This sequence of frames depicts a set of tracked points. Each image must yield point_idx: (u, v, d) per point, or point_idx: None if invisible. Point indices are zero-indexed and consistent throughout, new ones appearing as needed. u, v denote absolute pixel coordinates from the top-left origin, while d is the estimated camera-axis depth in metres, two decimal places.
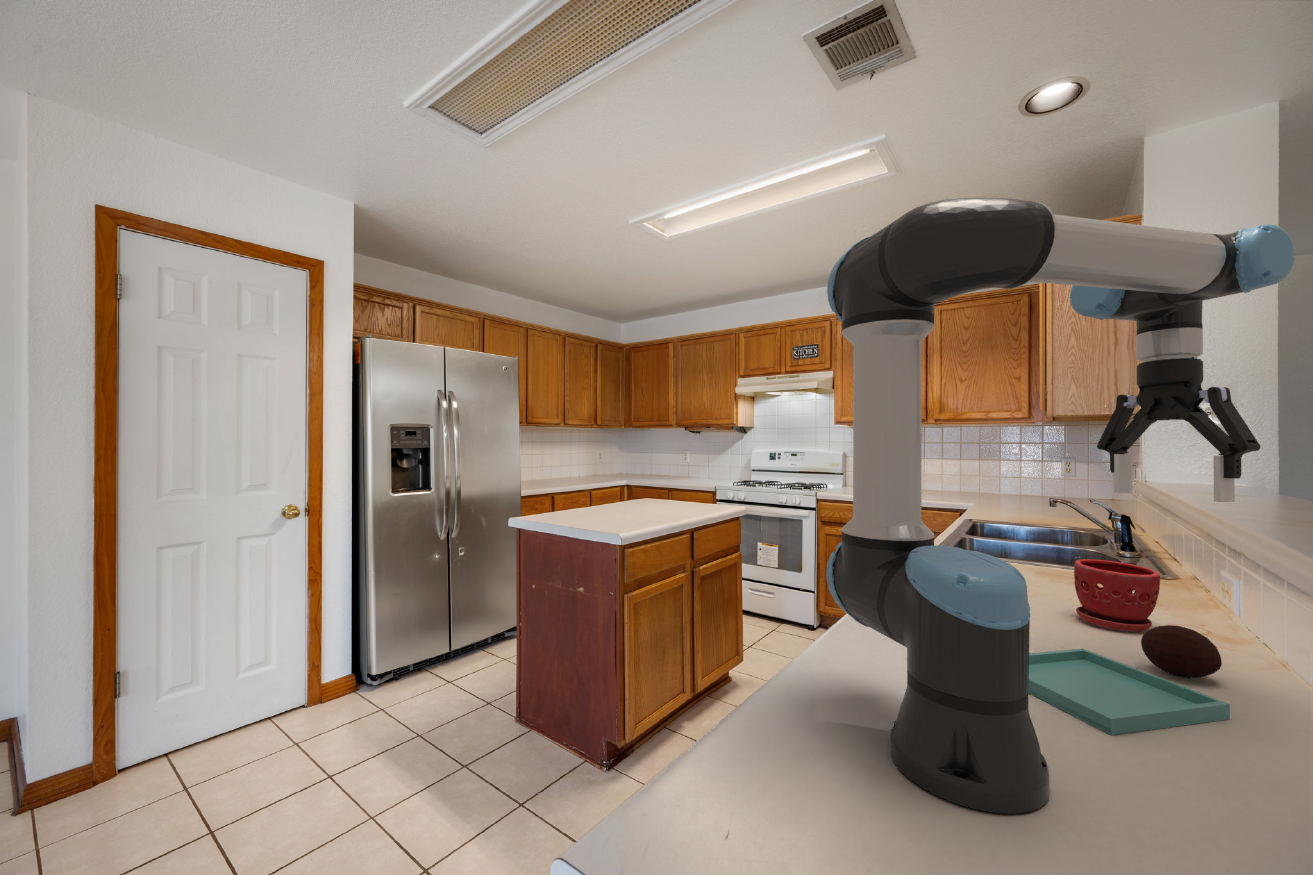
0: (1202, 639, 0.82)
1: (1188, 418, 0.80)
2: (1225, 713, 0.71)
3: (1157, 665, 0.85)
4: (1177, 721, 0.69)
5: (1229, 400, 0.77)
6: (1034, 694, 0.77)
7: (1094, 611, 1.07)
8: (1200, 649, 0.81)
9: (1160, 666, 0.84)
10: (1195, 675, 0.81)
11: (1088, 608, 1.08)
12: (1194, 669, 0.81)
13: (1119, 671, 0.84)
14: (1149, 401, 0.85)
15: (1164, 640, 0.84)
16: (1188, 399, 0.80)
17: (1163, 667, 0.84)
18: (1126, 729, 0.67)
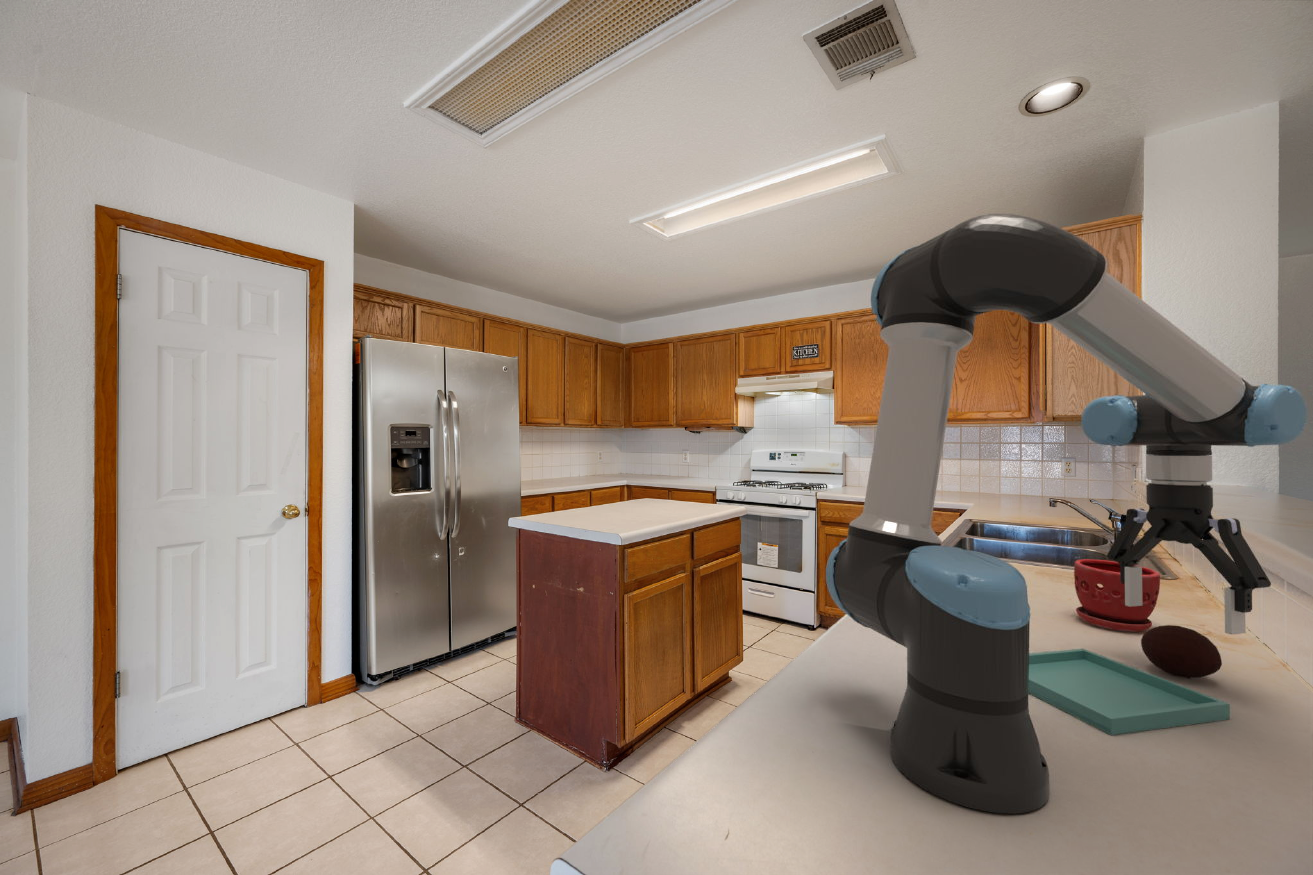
0: (1202, 639, 0.82)
1: (1198, 546, 0.81)
2: (1225, 713, 0.71)
3: (1157, 665, 0.85)
4: (1177, 721, 0.69)
5: (1239, 532, 0.78)
6: (1034, 694, 0.77)
7: (1094, 611, 1.07)
8: (1200, 649, 0.81)
9: (1160, 666, 0.84)
10: (1195, 675, 0.81)
11: (1088, 608, 1.08)
12: (1194, 669, 0.81)
13: (1119, 671, 0.84)
14: (1159, 522, 0.86)
15: (1164, 640, 0.84)
16: (1198, 526, 0.81)
17: (1163, 667, 0.84)
18: (1126, 729, 0.67)
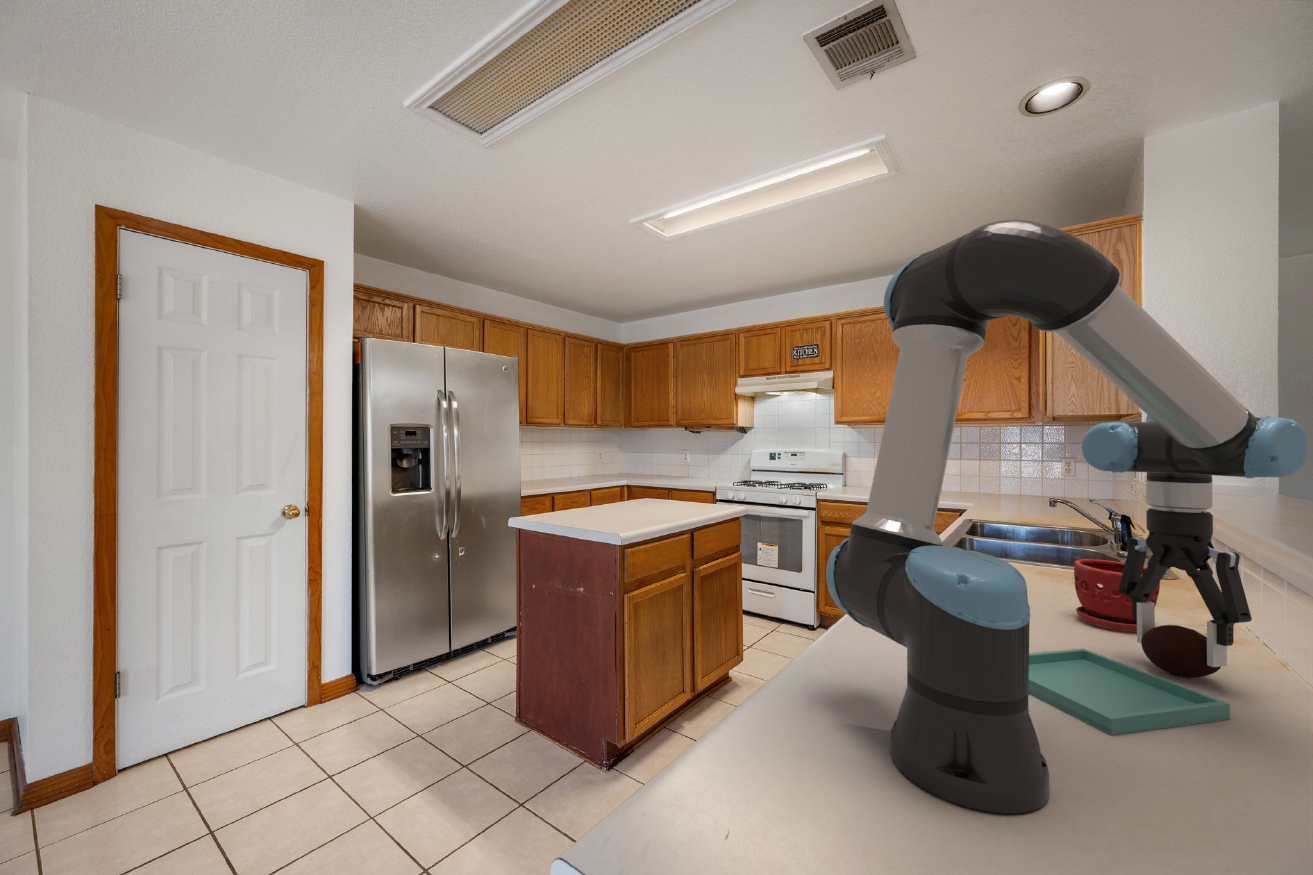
0: (1202, 639, 0.82)
1: (1192, 575, 0.82)
2: (1225, 713, 0.71)
3: (1157, 665, 0.85)
4: (1177, 721, 0.69)
5: (1236, 567, 0.78)
6: (1034, 694, 0.77)
7: (1094, 611, 1.07)
8: (1200, 649, 0.81)
9: (1160, 666, 0.84)
10: (1195, 675, 0.81)
11: (1088, 608, 1.08)
12: (1194, 669, 0.81)
13: (1119, 671, 0.84)
14: (1159, 548, 0.86)
15: (1164, 640, 0.84)
16: (1197, 554, 0.81)
17: (1163, 667, 0.84)
18: (1126, 729, 0.67)
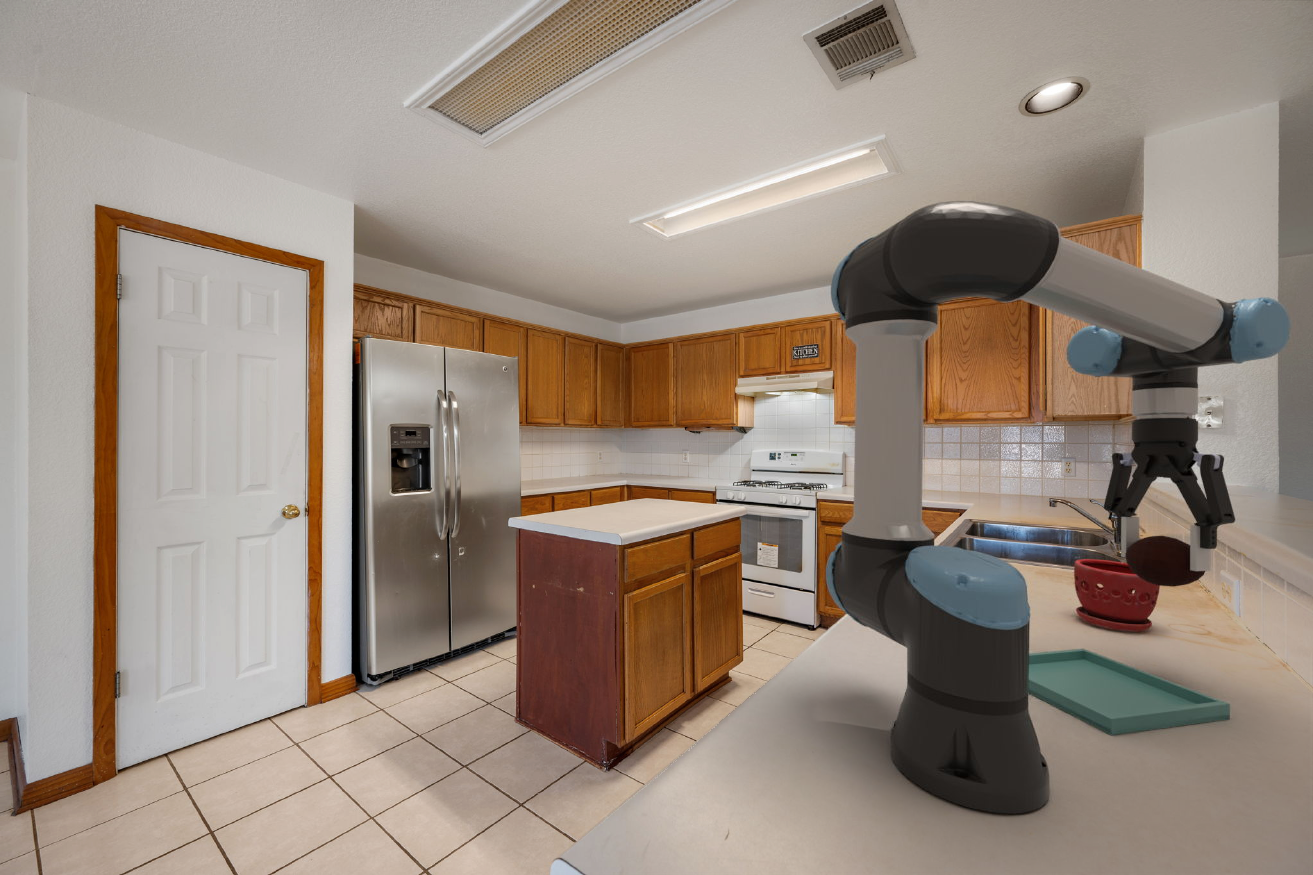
0: (1186, 546, 0.81)
1: (1177, 481, 0.81)
2: (1225, 713, 0.71)
3: (1141, 575, 0.84)
4: (1177, 721, 0.69)
5: (1220, 469, 0.77)
6: (1034, 694, 0.77)
7: (1094, 611, 1.07)
8: (1183, 555, 0.80)
9: (1144, 575, 0.83)
10: (1179, 582, 0.80)
11: (1088, 608, 1.08)
12: (1177, 575, 0.80)
13: (1119, 671, 0.84)
14: (1144, 458, 0.85)
15: (1148, 549, 0.83)
16: (1181, 459, 0.80)
17: (1147, 576, 0.83)
18: (1126, 729, 0.67)
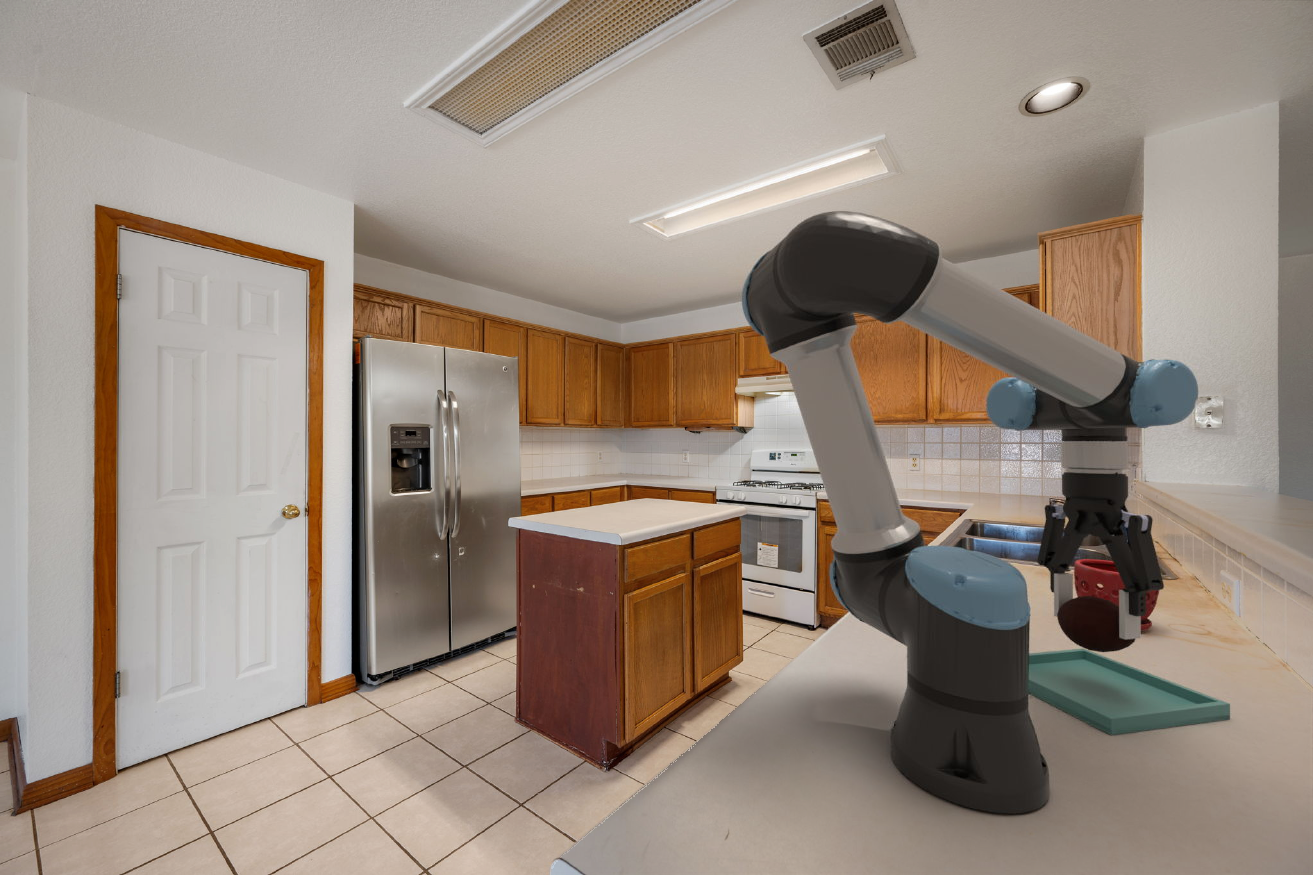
0: (1116, 610, 0.76)
1: (1105, 541, 0.76)
2: (1225, 713, 0.71)
3: (1071, 639, 0.79)
4: (1177, 721, 0.69)
5: (1149, 531, 0.72)
6: (1034, 694, 0.77)
7: None
8: (1113, 621, 0.75)
9: (1074, 640, 0.78)
10: (1109, 648, 0.75)
11: None
12: (1107, 641, 0.75)
13: (1119, 671, 0.84)
14: (1074, 514, 0.80)
15: (1078, 612, 0.78)
16: (1110, 518, 0.75)
17: (1077, 640, 0.78)
18: (1126, 729, 0.67)
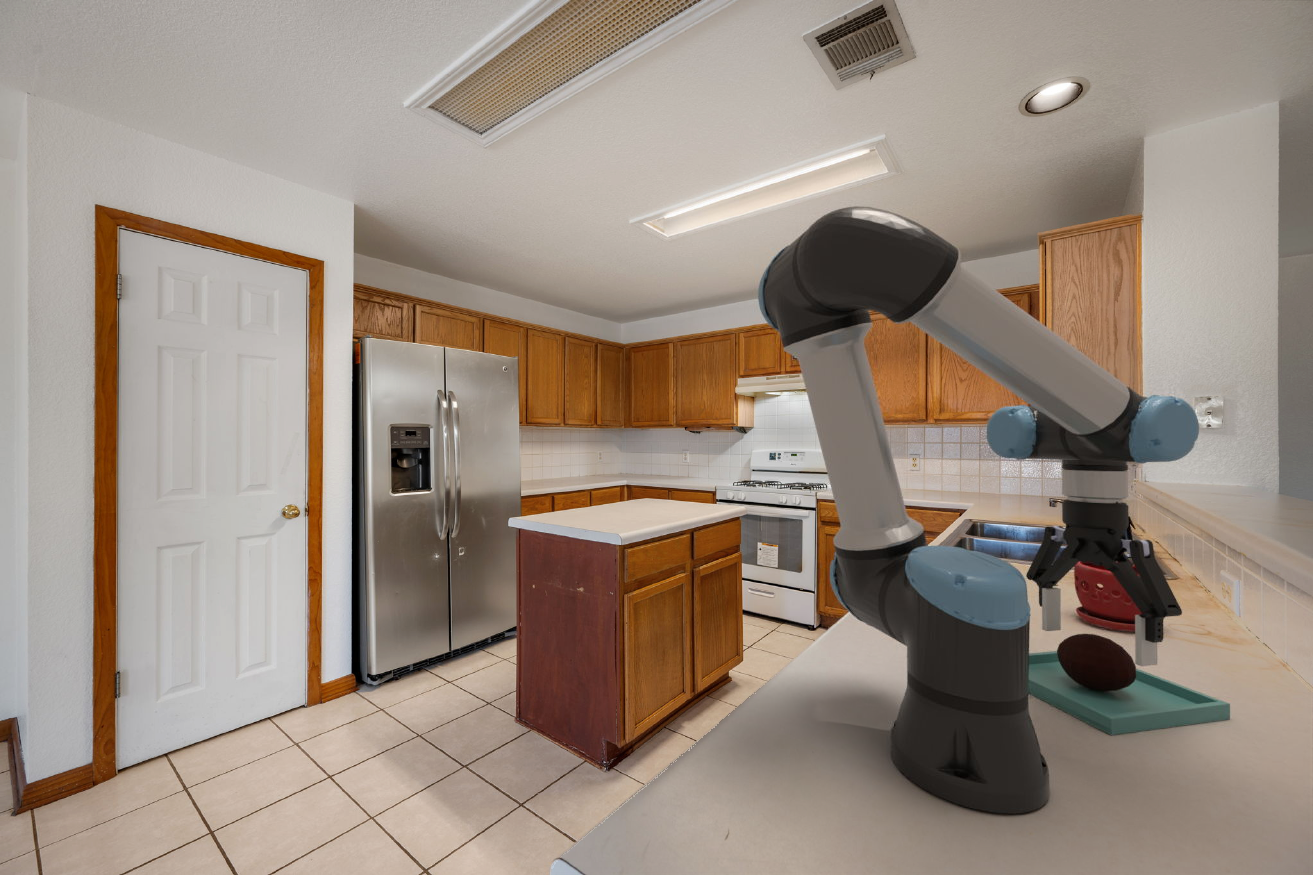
0: (1116, 650, 0.76)
1: (1111, 568, 0.75)
2: (1225, 713, 0.71)
3: (1071, 677, 0.79)
4: (1177, 721, 0.69)
5: (1152, 555, 0.72)
6: (1034, 694, 0.77)
7: (1094, 611, 1.07)
8: (1112, 660, 0.75)
9: (1073, 678, 0.78)
10: (1108, 688, 0.75)
11: (1088, 608, 1.08)
12: (1106, 681, 0.75)
13: None
14: (1074, 541, 0.80)
15: (1077, 650, 0.78)
16: (1111, 547, 0.75)
17: (1076, 679, 0.78)
18: (1126, 729, 0.67)
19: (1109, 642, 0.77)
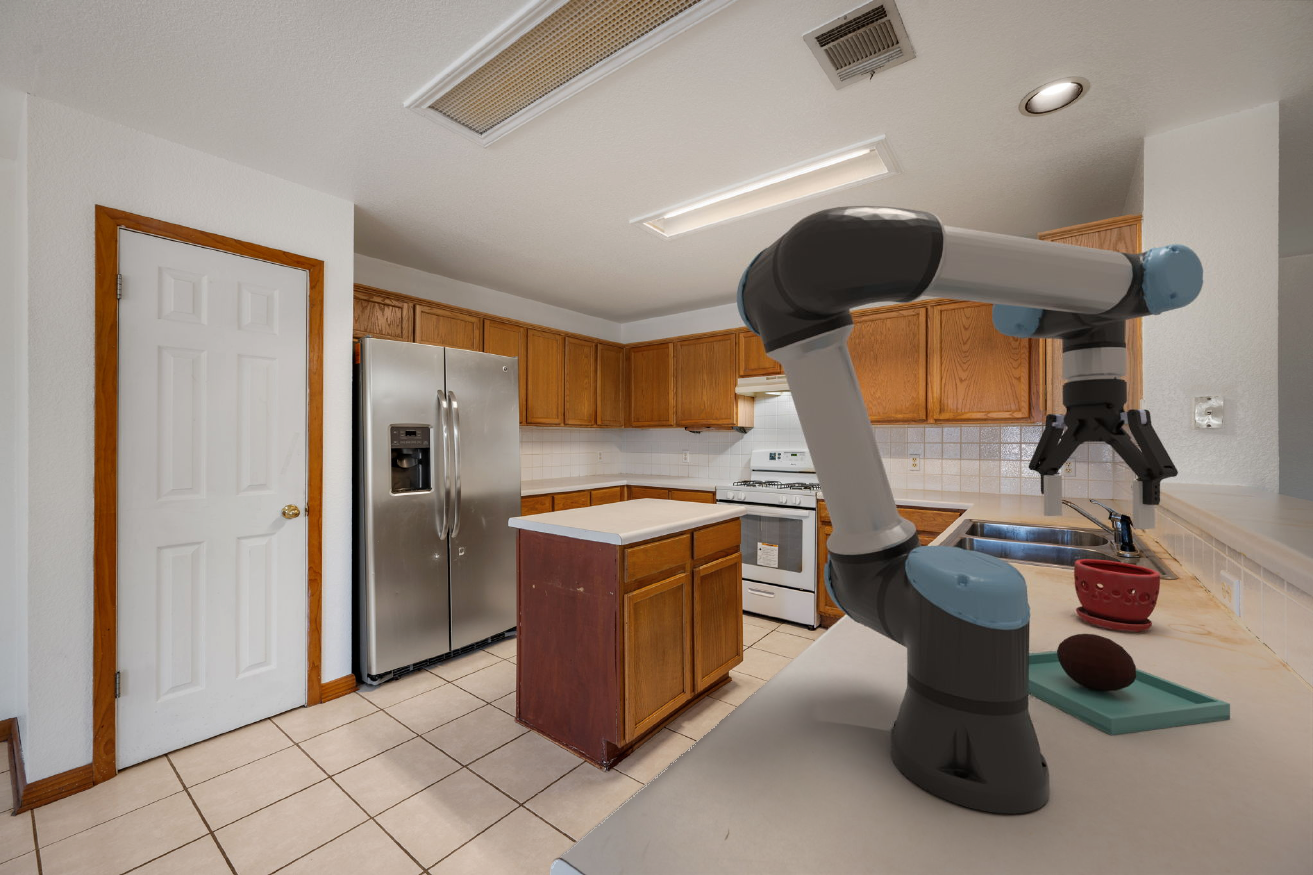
0: (1116, 650, 0.76)
1: (1109, 441, 0.77)
2: (1225, 713, 0.71)
3: (1071, 677, 0.79)
4: (1177, 721, 0.69)
5: (1149, 423, 0.74)
6: (1034, 694, 0.77)
7: (1094, 611, 1.07)
8: (1112, 660, 0.75)
9: (1073, 678, 0.78)
10: (1108, 688, 0.75)
11: (1088, 608, 1.08)
12: (1106, 681, 0.75)
13: None
14: (1074, 422, 0.82)
15: (1077, 650, 0.78)
16: (1110, 421, 0.78)
17: (1076, 679, 0.78)
18: (1126, 729, 0.67)
19: (1109, 642, 0.77)
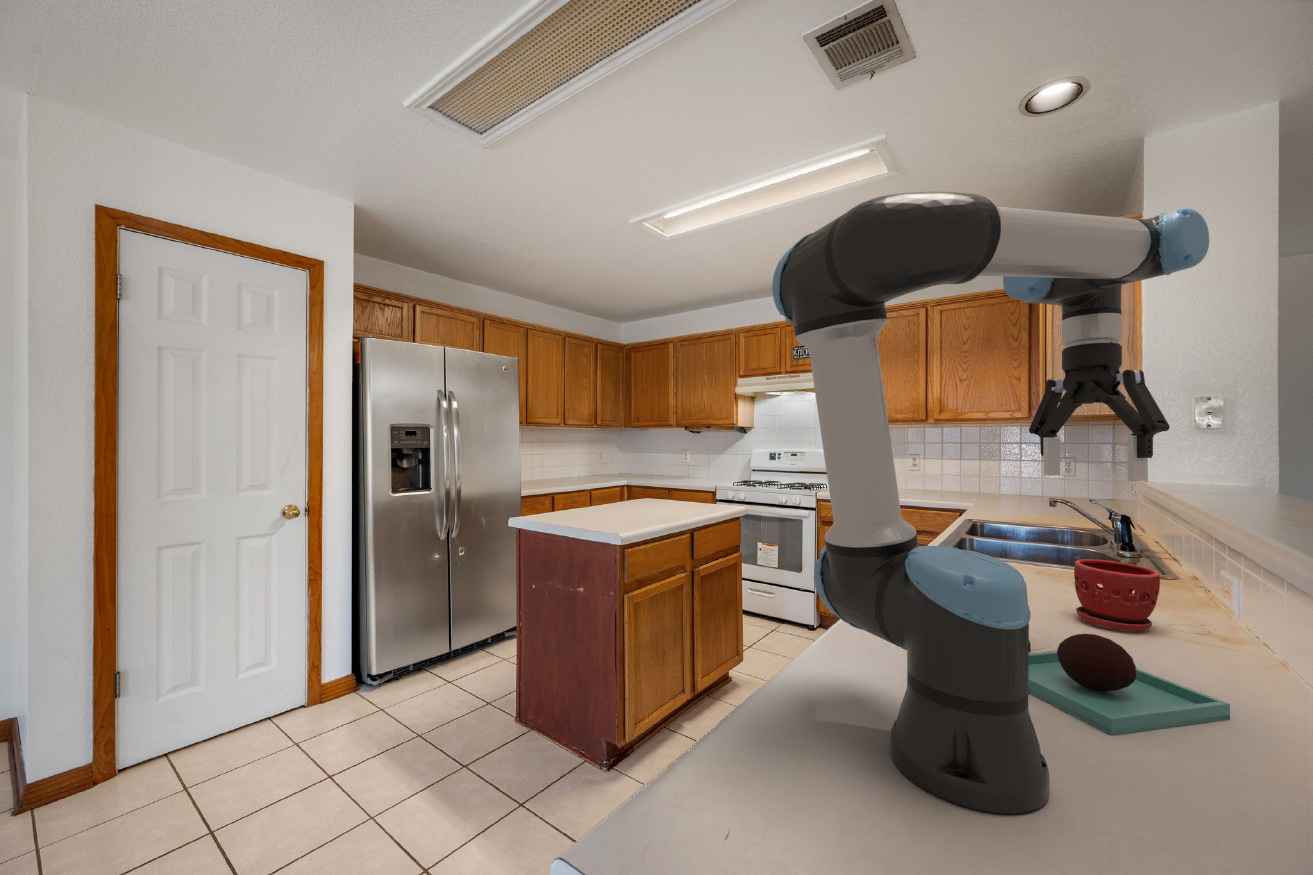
0: (1116, 650, 0.76)
1: (1106, 400, 0.83)
2: (1225, 713, 0.71)
3: (1071, 677, 0.79)
4: (1177, 721, 0.69)
5: (1143, 382, 0.80)
6: (1034, 694, 0.77)
7: (1094, 611, 1.07)
8: (1112, 660, 0.75)
9: (1073, 678, 0.78)
10: (1108, 688, 0.75)
11: (1088, 608, 1.08)
12: (1106, 681, 0.75)
13: None
14: (1073, 385, 0.87)
15: (1077, 650, 0.78)
16: (1106, 382, 0.83)
17: (1076, 679, 0.78)
18: (1126, 729, 0.67)
19: (1109, 642, 0.77)
